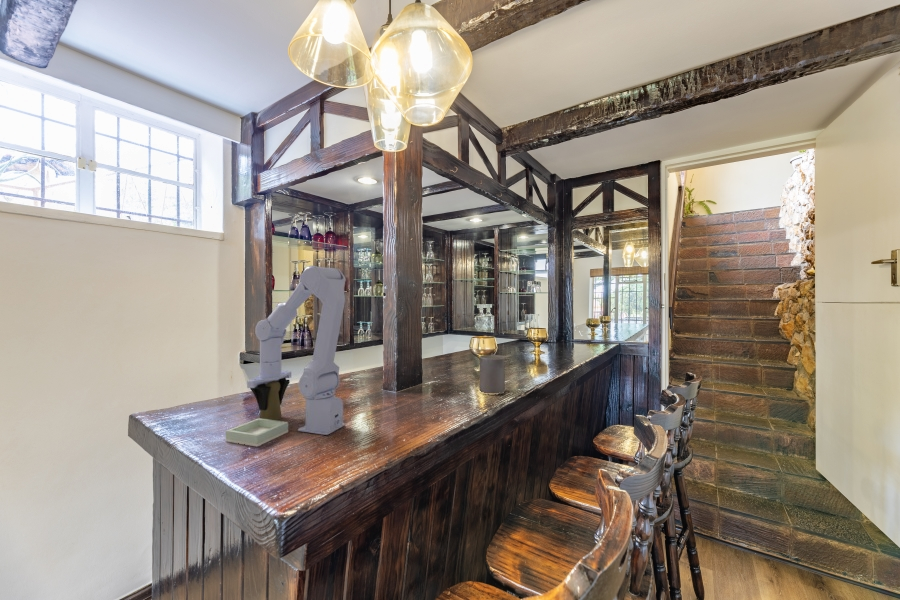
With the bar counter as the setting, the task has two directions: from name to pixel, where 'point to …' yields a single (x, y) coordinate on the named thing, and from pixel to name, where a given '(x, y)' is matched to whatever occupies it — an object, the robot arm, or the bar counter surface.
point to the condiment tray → (256, 432)
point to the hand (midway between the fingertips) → (270, 406)
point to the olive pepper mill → (272, 403)
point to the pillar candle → (492, 373)
